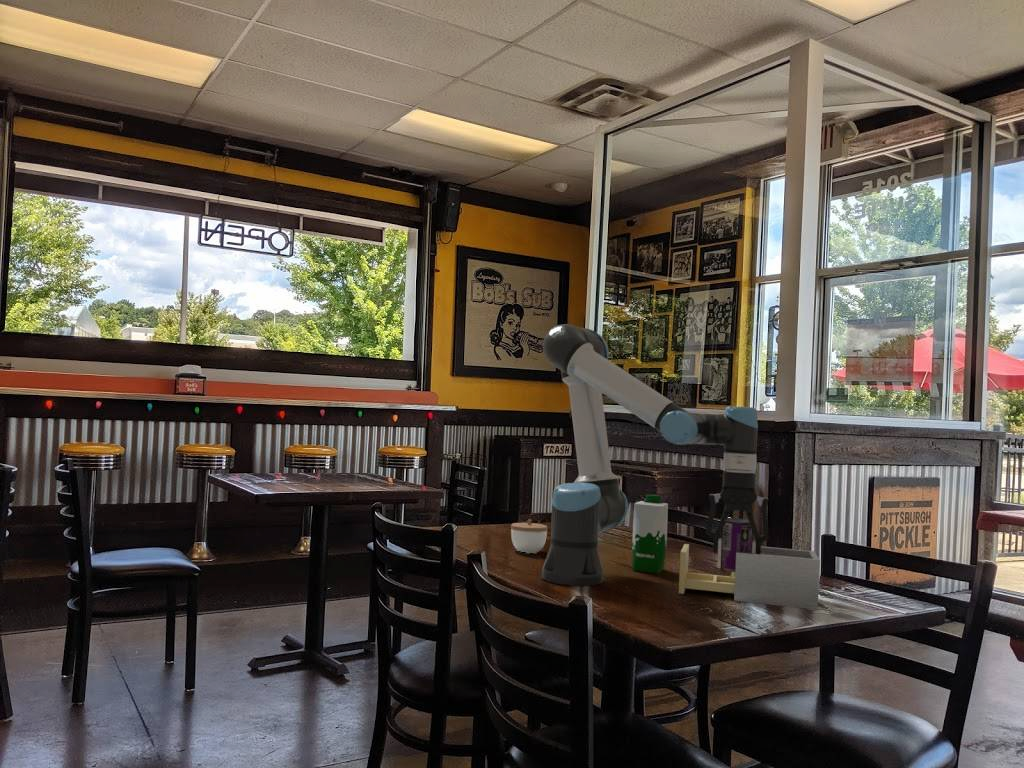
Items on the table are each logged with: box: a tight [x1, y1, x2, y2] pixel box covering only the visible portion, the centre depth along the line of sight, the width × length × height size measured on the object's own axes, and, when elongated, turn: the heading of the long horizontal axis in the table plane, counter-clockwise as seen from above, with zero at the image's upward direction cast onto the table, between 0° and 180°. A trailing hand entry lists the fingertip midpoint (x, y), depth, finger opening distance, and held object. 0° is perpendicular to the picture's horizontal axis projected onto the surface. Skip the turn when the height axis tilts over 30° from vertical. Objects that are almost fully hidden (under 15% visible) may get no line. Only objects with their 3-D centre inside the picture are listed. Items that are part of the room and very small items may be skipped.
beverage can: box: [721, 517, 754, 573], centre depth 192 cm, size 7×7×12 cm
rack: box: [678, 543, 735, 595], centre depth 193 cm, size 18×14×10 cm
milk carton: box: [631, 493, 669, 574], centre depth 218 cm, size 9×9×20 cm
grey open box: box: [733, 545, 821, 611], centre depth 190 cm, size 18×14×11 cm
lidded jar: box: [510, 518, 548, 554], centre depth 238 cm, size 11×11×9 cm
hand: (735, 568), depth 192 cm, fingers closed on beverage can, 7 cm apart
